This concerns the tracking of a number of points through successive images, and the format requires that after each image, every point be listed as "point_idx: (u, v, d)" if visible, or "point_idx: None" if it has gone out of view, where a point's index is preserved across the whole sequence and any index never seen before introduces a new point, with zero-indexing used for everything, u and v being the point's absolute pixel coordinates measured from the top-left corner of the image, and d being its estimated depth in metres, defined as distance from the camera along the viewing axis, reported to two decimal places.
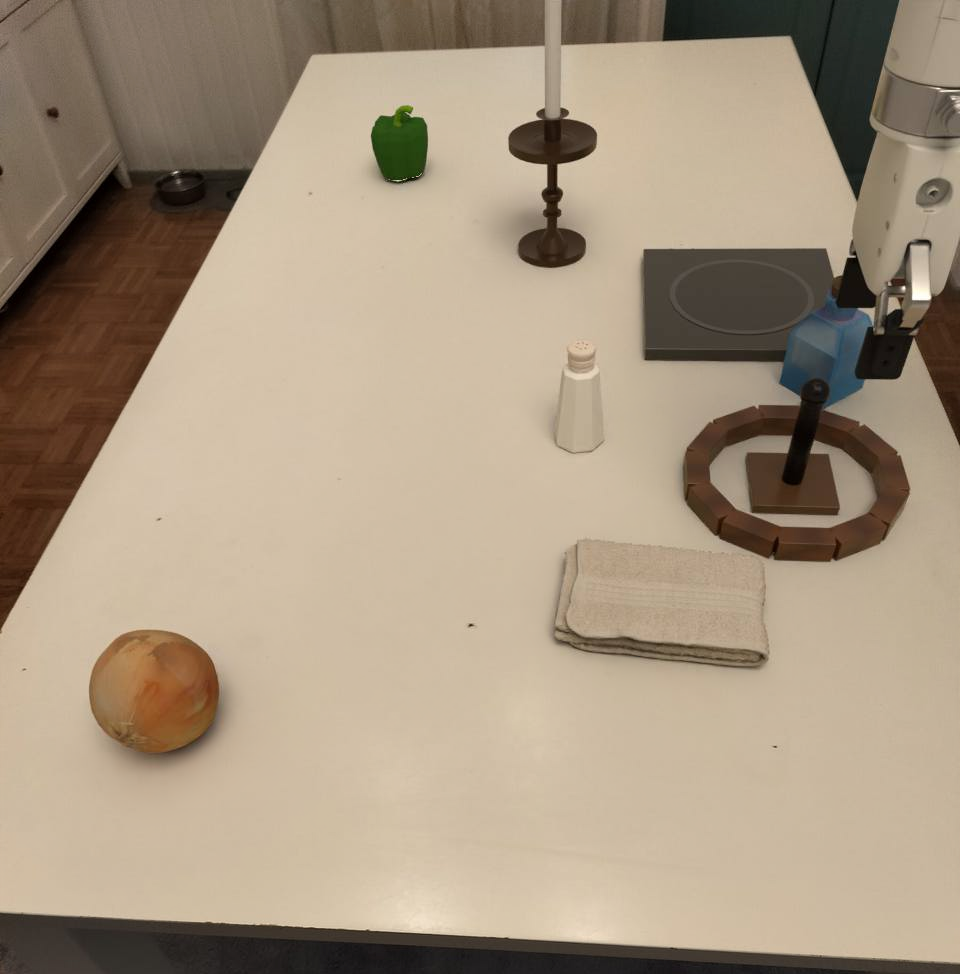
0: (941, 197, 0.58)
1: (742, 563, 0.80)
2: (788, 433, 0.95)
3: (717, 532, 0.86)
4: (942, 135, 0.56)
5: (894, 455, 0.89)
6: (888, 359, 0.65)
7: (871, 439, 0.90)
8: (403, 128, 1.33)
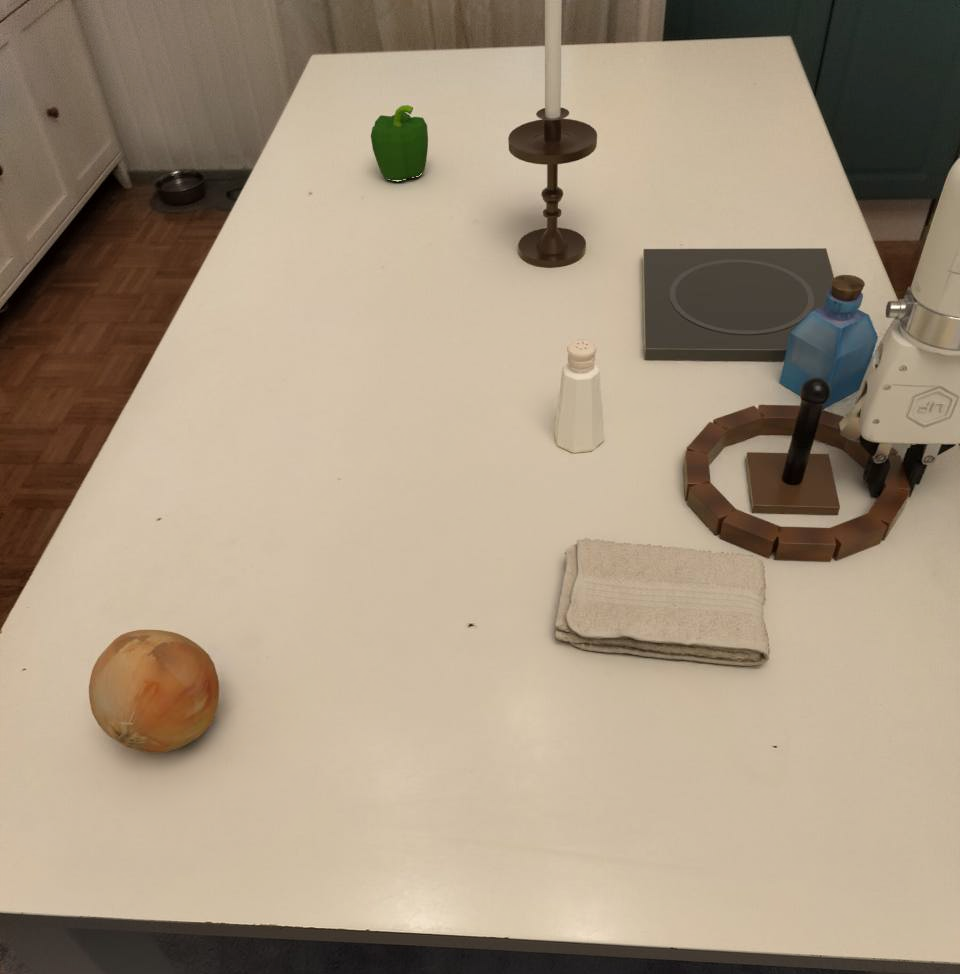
0: None
1: (742, 563, 0.80)
2: (788, 433, 0.95)
3: (717, 532, 0.86)
4: None
5: (894, 455, 0.89)
6: (867, 470, 0.87)
7: None
8: (403, 128, 1.33)
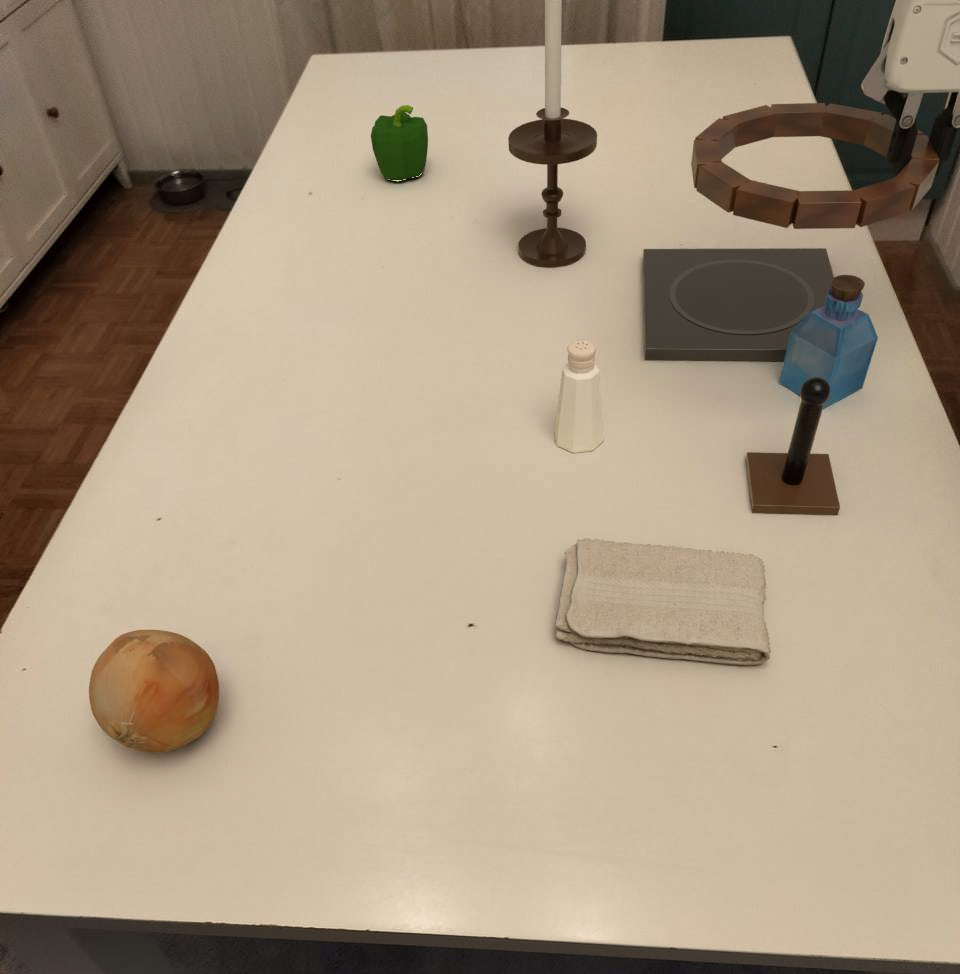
0: None
1: (742, 562, 0.80)
2: (803, 134, 0.88)
3: (730, 208, 0.79)
4: None
5: (920, 135, 0.82)
6: (892, 145, 0.81)
7: (894, 124, 0.84)
8: (403, 128, 1.33)
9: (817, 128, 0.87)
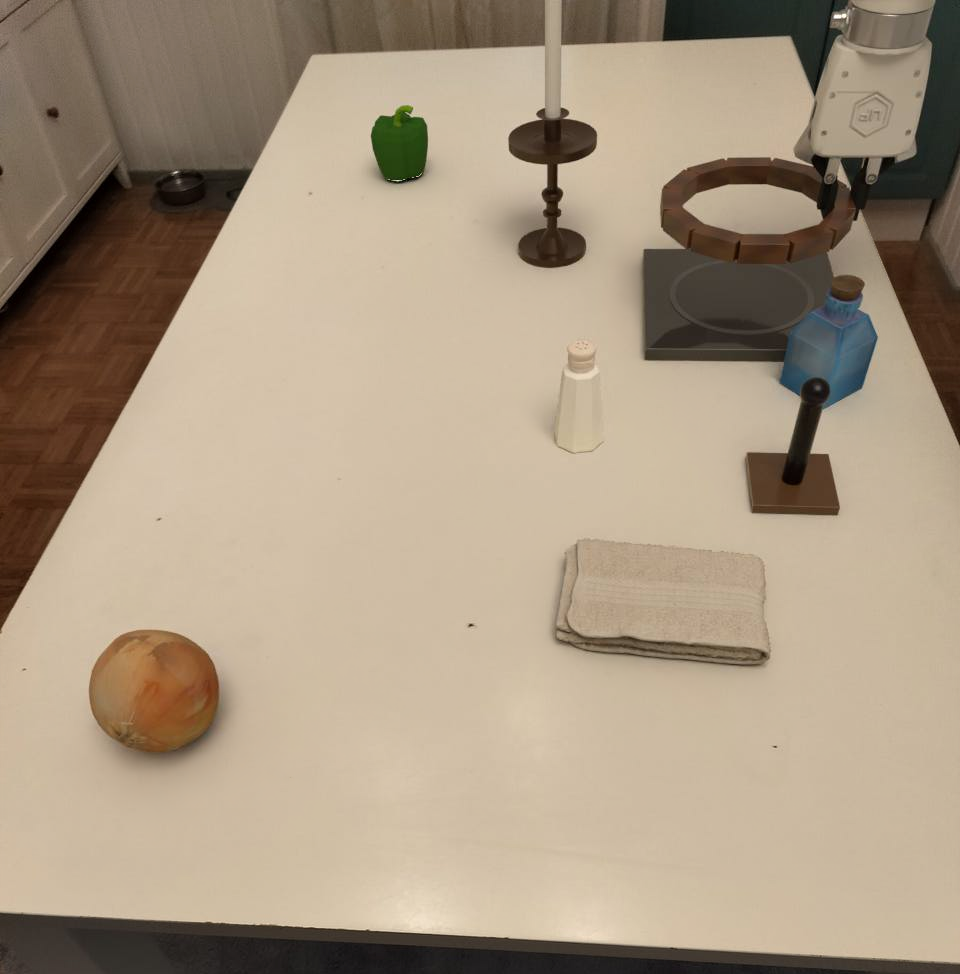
0: None
1: (742, 562, 0.80)
2: (753, 182, 1.08)
3: (688, 246, 0.99)
4: (843, 33, 0.89)
5: (843, 187, 1.02)
6: (819, 196, 1.00)
7: None
8: (403, 128, 1.33)
9: (764, 178, 1.07)
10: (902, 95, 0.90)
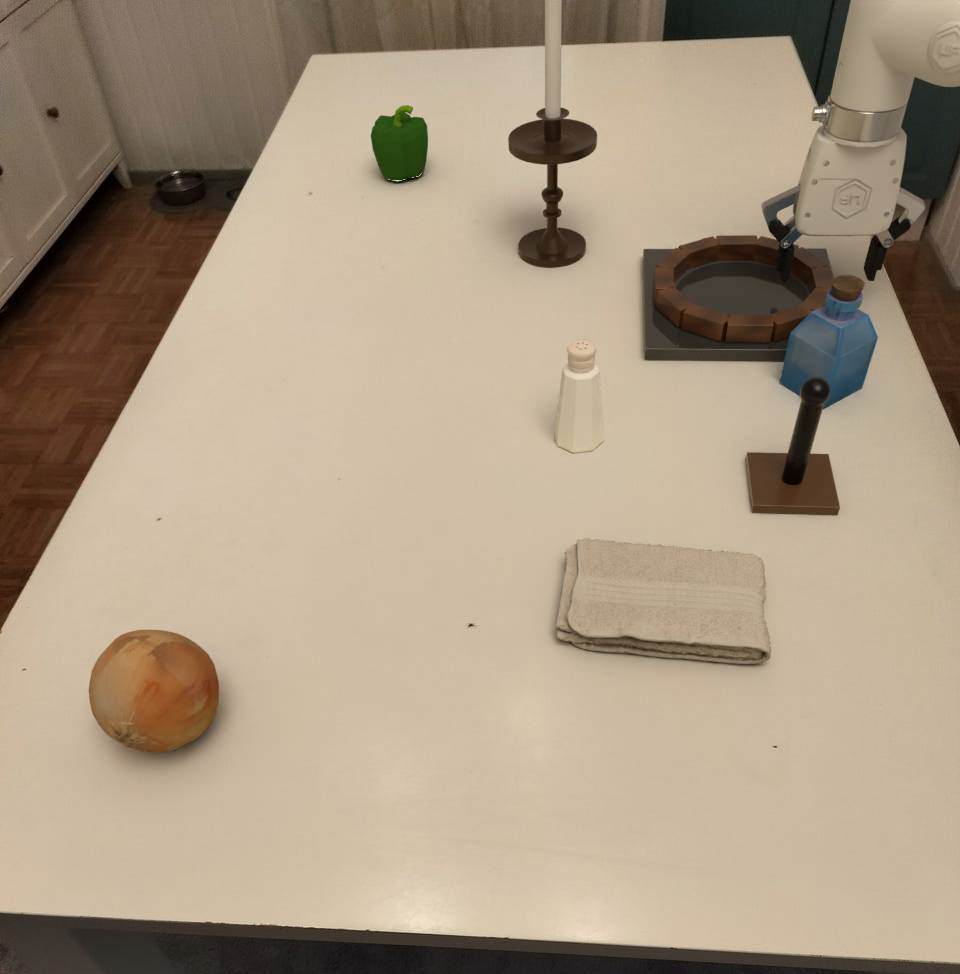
0: None
1: (742, 561, 0.80)
2: (741, 258, 1.15)
3: (679, 324, 1.06)
4: None
5: (825, 267, 1.09)
6: (777, 258, 1.06)
7: (807, 256, 1.10)
8: (403, 128, 1.33)
9: (751, 255, 1.14)
10: (880, 181, 0.96)
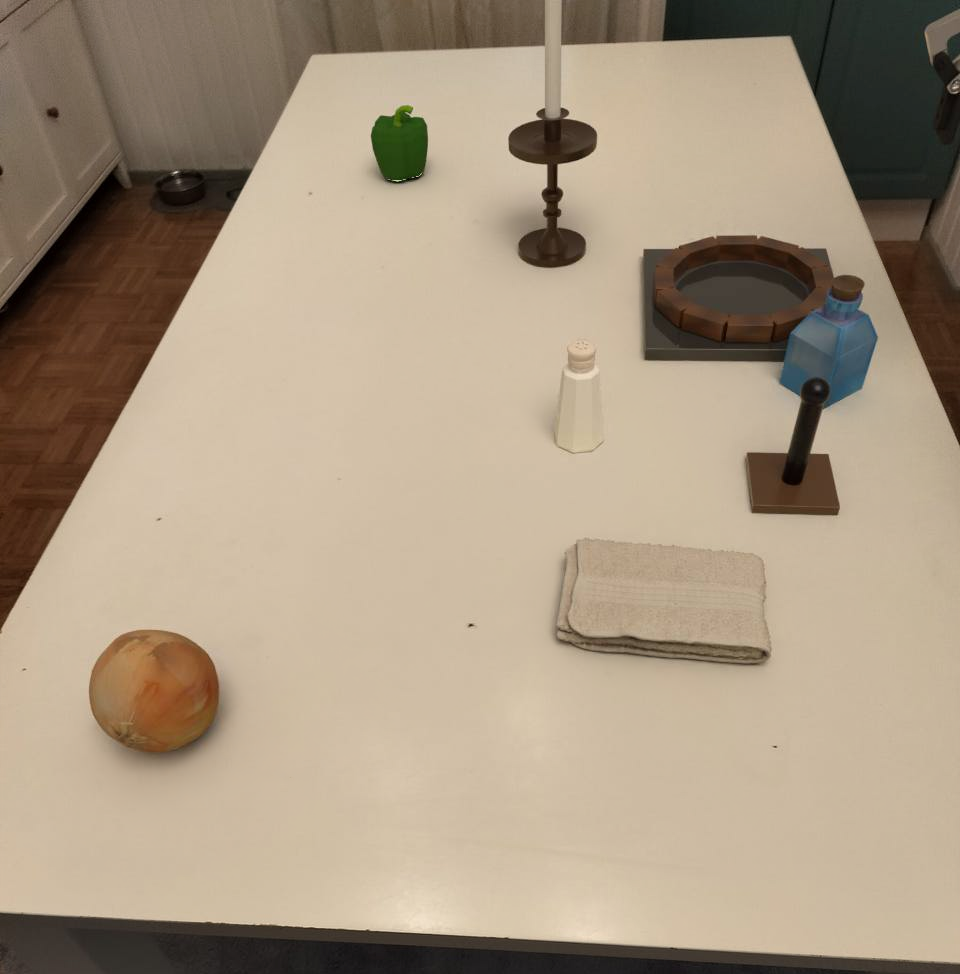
0: None
1: (742, 561, 0.80)
2: (741, 258, 1.15)
3: (679, 324, 1.06)
4: None
5: (825, 267, 1.09)
6: (939, 112, 0.77)
7: (807, 256, 1.10)
8: (403, 128, 1.33)
9: (751, 255, 1.14)
10: None
